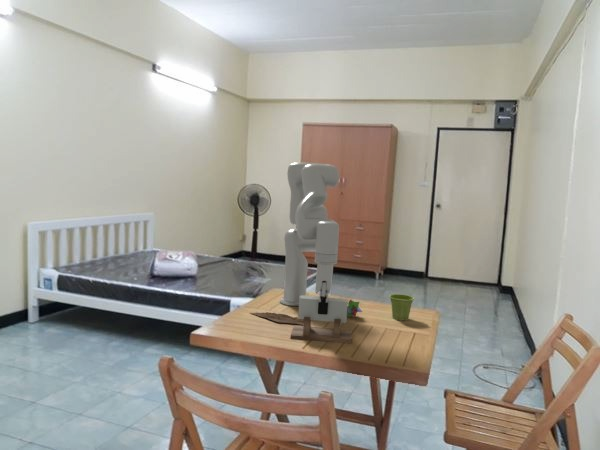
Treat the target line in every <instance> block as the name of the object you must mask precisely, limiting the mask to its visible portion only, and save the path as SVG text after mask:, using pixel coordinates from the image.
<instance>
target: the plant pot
mask: <svg viewBox="0 0 600 450" xmlns="http://www.w3.org/2000/svg"><path fill="white" fill-rule="evenodd" d="M389 298H390V303H391V315H392V317H391V318H393V319H394V320H396V321H402V320H403V321H408V320H409V317H410V313H411V309H412V305H413V301H414V300H415V297H413V296H411V295H408V294H401V293H395V294H390V295H389Z"/></svg>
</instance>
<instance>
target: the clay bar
mask: <svg viewBox="0 0 600 450" xmlns="http://www.w3.org/2000/svg"><path fill="white" fill-rule="evenodd" d="M318 302H319V296H314V295H313V296H312V295H306V296H304V295H301V296H300V298H299V306H298V315H297V316H298V317H297V318H298V319H304V317H310V320H311V321H320V322H321V321H322V322H330V323H331V322H332V323H334V320H335V319H341V323H343V324H346V323H347V319H348V318H347V317H348V316H347V306H348V303H349V298H338V297H337V298H334V297H328V300H327V302H328V313H327V315H324V314H318ZM341 323H340V324H341Z"/></svg>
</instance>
